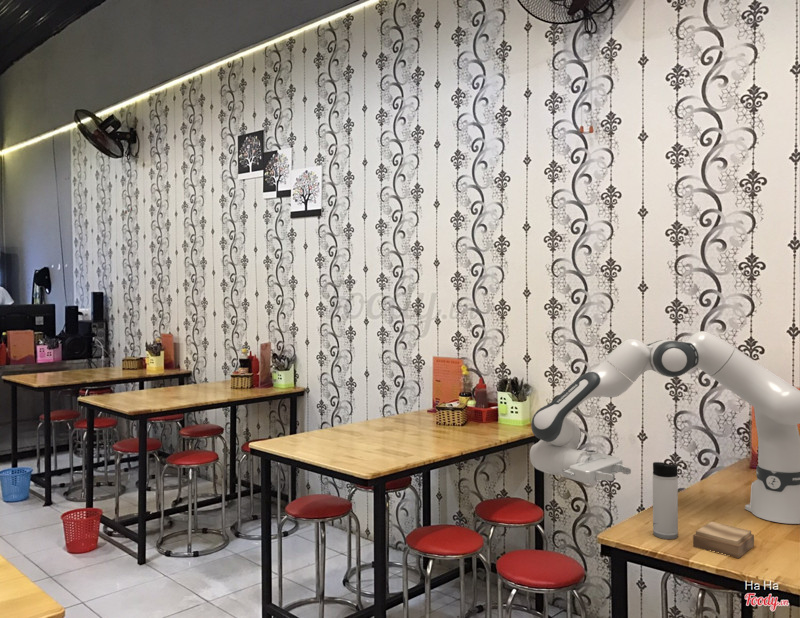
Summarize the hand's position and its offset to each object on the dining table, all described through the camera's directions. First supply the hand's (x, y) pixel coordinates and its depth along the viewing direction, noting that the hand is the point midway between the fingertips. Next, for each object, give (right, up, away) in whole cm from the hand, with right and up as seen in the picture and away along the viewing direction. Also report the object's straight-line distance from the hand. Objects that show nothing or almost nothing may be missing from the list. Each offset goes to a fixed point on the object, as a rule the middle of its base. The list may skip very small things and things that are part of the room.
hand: (621, 474), depth 185 cm
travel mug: (+9, -15, -9) cm, 19 cm away
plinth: (+21, -14, -17) cm, 30 cm away
